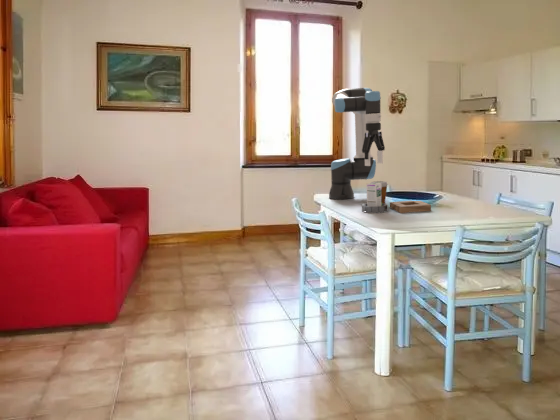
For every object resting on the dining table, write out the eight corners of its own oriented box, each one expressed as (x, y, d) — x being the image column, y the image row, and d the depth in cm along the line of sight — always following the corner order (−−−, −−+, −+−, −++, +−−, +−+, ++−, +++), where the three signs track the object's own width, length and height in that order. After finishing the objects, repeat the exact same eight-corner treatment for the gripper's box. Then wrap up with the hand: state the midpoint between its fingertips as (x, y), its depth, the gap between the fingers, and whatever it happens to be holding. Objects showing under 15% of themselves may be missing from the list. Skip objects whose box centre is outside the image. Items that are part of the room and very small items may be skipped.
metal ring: (369, 207, 276) (369, 201, 275) (391, 209, 268) (391, 203, 267) (357, 211, 266) (357, 206, 265) (380, 213, 258) (380, 207, 257)
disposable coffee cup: (387, 205, 280) (387, 183, 278) (370, 205, 282) (369, 183, 280) (387, 202, 289) (387, 181, 287) (370, 202, 291) (370, 181, 289)
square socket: (389, 207, 272) (389, 202, 272) (418, 205, 274) (418, 200, 274) (400, 213, 257) (400, 207, 256) (430, 210, 259) (430, 204, 258)
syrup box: (376, 211, 263) (376, 183, 260) (366, 210, 267) (366, 183, 264) (382, 210, 267) (382, 182, 264) (372, 209, 271) (372, 181, 268)
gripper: (368, 123, 247) (368, 167, 251) (390, 121, 266) (391, 162, 270) (354, 123, 251) (355, 166, 255) (377, 121, 271) (378, 162, 274)
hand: (373, 164), depth 263 cm, fingers open, 13 cm apart
